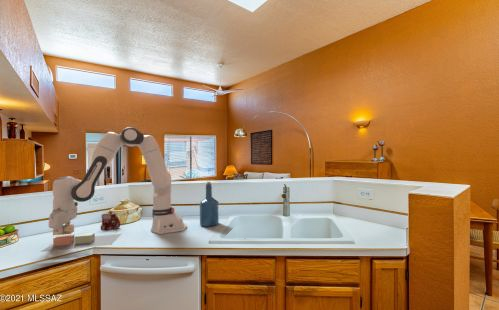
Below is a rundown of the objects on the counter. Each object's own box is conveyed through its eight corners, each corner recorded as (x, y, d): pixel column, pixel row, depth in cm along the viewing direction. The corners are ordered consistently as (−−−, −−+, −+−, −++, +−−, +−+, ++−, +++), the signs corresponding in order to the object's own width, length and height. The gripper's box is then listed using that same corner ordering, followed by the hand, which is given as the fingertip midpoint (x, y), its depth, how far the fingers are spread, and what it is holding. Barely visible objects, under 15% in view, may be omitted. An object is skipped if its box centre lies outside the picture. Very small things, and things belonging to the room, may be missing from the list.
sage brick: (94, 239, 127) (94, 232, 127) (91, 242, 123) (91, 235, 123) (78, 241, 125) (78, 234, 125) (74, 243, 121) (74, 236, 121)
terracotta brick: (74, 241, 125) (74, 234, 125) (70, 244, 121) (70, 237, 121) (57, 243, 123) (57, 235, 123) (53, 246, 119) (53, 238, 119)
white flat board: (121, 235, 136) (121, 233, 136) (111, 246, 120) (111, 244, 120) (60, 241, 129) (60, 239, 129) (40, 253, 112) (40, 251, 112)
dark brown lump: (115, 231, 145) (115, 215, 145) (98, 231, 146) (97, 215, 146) (122, 227, 151) (122, 212, 151) (106, 227, 153) (105, 212, 153)
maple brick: (74, 231, 125) (74, 224, 125) (70, 233, 121) (70, 226, 121) (57, 232, 123) (57, 225, 123) (52, 235, 119) (52, 227, 119)
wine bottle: (203, 228, 147) (202, 183, 147) (197, 223, 159) (196, 181, 159) (222, 225, 154) (221, 182, 154) (215, 220, 166) (214, 180, 166)
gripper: (59, 210, 112) (59, 237, 112) (79, 201, 132) (79, 225, 132) (44, 211, 111) (44, 238, 111) (67, 202, 131) (67, 225, 131)
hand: (63, 231), depth 122 cm, fingers closed on maple brick, 4 cm apart
